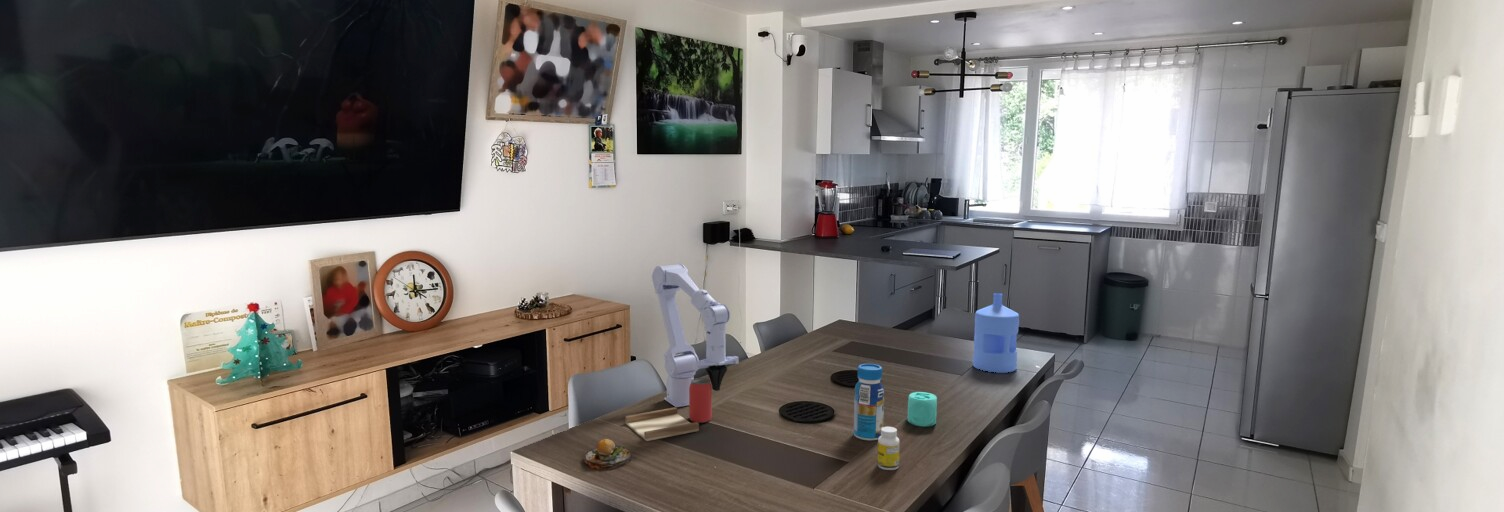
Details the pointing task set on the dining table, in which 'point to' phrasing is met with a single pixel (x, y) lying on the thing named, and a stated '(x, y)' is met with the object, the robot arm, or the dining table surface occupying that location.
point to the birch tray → (660, 424)
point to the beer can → (700, 400)
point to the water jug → (996, 338)
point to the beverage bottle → (868, 403)
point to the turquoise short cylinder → (922, 409)
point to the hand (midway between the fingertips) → (715, 389)
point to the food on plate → (608, 456)
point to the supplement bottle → (888, 449)
